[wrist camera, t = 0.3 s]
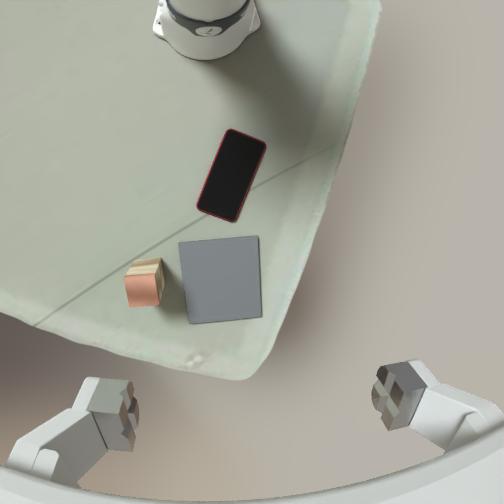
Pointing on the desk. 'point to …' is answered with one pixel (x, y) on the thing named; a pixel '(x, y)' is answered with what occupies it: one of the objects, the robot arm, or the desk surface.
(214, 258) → the rubber mat
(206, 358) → the desk surface
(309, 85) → the desk surface
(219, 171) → the smartphone
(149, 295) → the beech block
